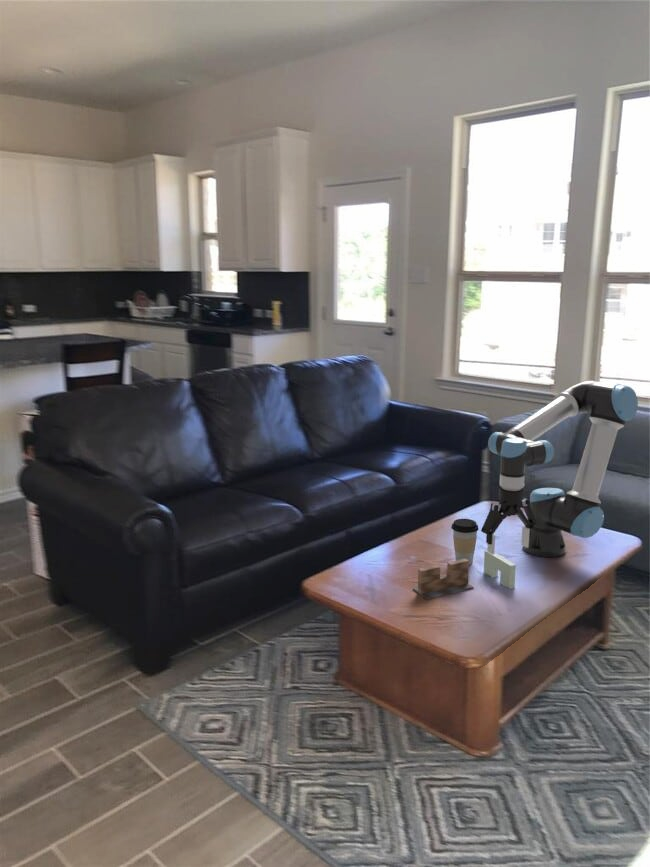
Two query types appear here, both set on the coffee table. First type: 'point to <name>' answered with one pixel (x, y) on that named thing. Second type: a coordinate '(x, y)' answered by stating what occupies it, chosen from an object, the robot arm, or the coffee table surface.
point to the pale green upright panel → (500, 568)
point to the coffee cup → (464, 538)
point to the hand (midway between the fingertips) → (508, 549)
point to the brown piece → (443, 579)
